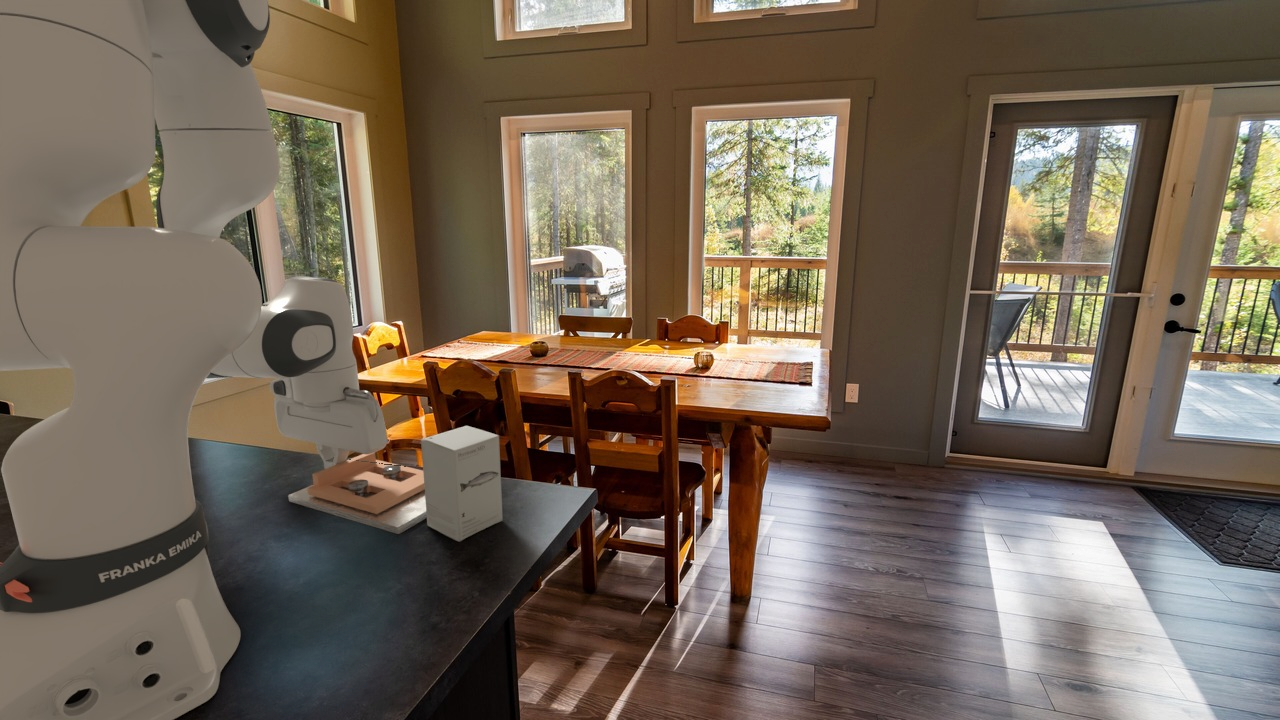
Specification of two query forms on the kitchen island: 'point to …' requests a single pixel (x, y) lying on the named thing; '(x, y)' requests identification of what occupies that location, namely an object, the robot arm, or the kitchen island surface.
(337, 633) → the kitchen island surface
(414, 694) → the kitchen island surface
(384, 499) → the panel
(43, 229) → the robot arm
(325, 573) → the kitchen island surface
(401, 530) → the boss plate
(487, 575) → the kitchen island surface
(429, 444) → the supplement box
